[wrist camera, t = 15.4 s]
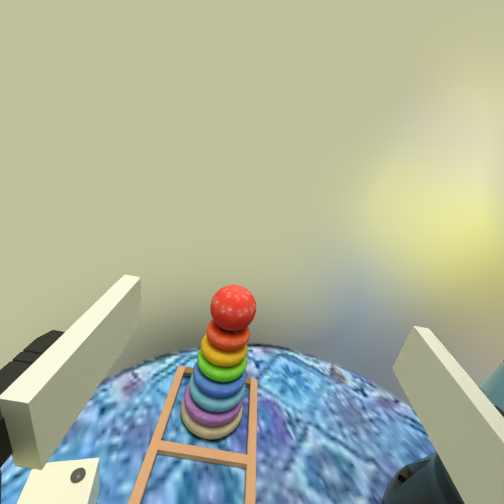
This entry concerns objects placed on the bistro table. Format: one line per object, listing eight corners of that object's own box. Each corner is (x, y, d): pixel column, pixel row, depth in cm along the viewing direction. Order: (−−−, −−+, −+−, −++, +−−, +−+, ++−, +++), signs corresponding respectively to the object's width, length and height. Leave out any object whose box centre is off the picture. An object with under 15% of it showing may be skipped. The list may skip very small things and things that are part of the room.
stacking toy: (250, 432, 35) (286, 309, 28) (187, 452, 32) (211, 316, 25) (229, 382, 42) (254, 272, 35) (175, 393, 38) (191, 273, 31)
